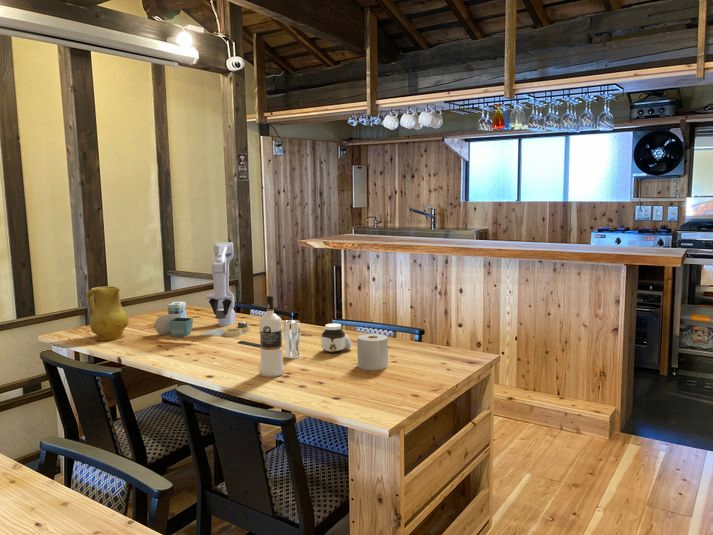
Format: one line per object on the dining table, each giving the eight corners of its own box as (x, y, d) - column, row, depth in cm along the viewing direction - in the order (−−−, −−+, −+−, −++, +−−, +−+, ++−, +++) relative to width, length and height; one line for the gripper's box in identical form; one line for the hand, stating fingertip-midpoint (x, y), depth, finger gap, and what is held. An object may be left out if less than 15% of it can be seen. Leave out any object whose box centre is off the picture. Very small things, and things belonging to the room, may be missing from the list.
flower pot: (194, 335, 280) (193, 317, 279) (187, 340, 271) (186, 321, 270) (176, 335, 281) (175, 317, 280) (169, 339, 272) (168, 321, 271)
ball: (168, 338, 276) (167, 317, 274) (150, 336, 279) (149, 316, 278) (180, 333, 285) (179, 313, 284) (163, 332, 288) (162, 312, 287)
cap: (219, 316, 283) (218, 308, 283) (228, 316, 282) (227, 308, 281) (213, 318, 279) (213, 310, 278) (222, 319, 277) (222, 310, 277)
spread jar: (319, 352, 246) (318, 326, 245) (329, 346, 257) (329, 320, 255) (345, 355, 242) (345, 328, 241) (354, 348, 253) (354, 322, 251)
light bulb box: (180, 324, 304) (180, 304, 303) (168, 324, 305) (167, 304, 303) (187, 320, 315) (186, 301, 314) (174, 320, 315) (173, 301, 314)
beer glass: (287, 359, 236) (286, 324, 234) (281, 355, 242) (280, 320, 240) (303, 357, 239) (302, 322, 237) (297, 353, 245) (296, 319, 243)
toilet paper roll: (358, 361, 232) (357, 333, 231) (387, 361, 232) (387, 333, 231) (357, 370, 220) (356, 341, 219) (388, 370, 220) (388, 340, 219)
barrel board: (217, 329, 292) (217, 319, 291) (253, 331, 286) (252, 321, 285) (199, 337, 276) (199, 326, 276) (237, 339, 270) (236, 328, 270)
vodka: (288, 371, 220) (286, 294, 216) (276, 378, 211) (274, 298, 208) (267, 369, 223) (265, 293, 220) (255, 376, 215) (252, 297, 211)
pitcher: (97, 343, 265) (94, 289, 264) (85, 338, 279) (82, 287, 278) (134, 338, 276) (132, 286, 275) (121, 333, 290) (118, 284, 289)
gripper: (202, 287, 277) (203, 315, 279) (228, 288, 273) (229, 316, 274) (210, 285, 284) (211, 312, 285) (236, 286, 279) (237, 313, 281)
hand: (220, 314), depth 280 cm, fingers closed on cap, 5 cm apart
